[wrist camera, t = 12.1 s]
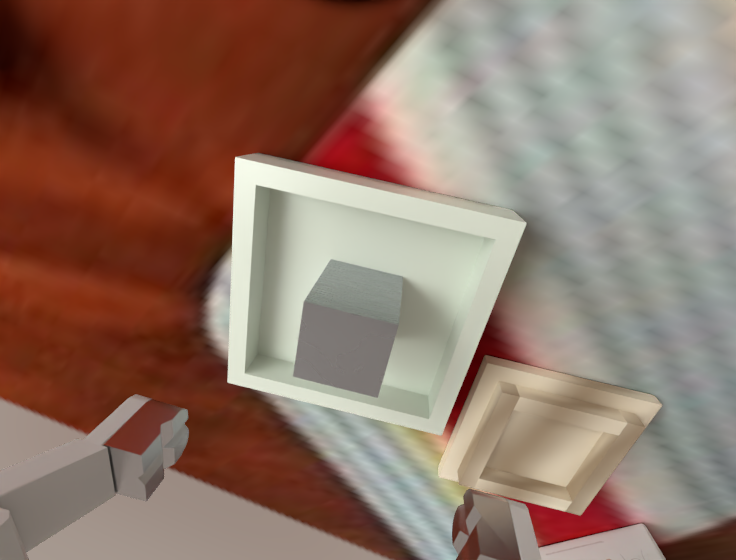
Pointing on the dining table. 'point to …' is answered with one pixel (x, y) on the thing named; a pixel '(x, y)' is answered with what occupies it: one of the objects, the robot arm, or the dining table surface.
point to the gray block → (349, 328)
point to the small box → (607, 546)
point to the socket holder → (543, 434)
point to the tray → (371, 250)
